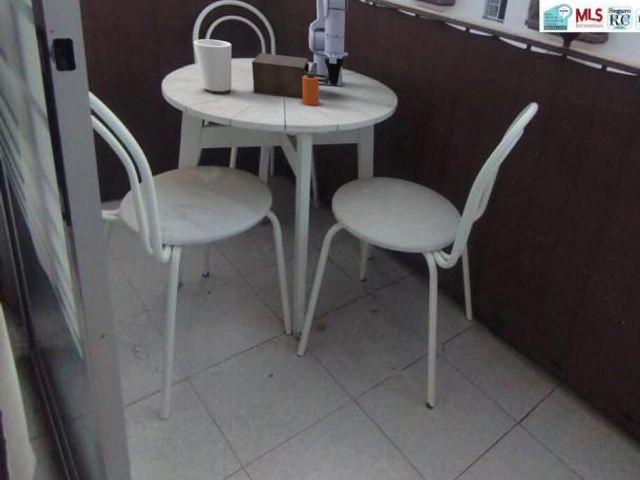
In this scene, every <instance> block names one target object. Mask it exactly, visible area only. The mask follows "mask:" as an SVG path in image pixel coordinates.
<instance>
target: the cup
mask: <svg viewBox="0 0 640 480" xmlns="http://www.w3.org/2000/svg"><path fill="white" fill-rule="evenodd" d="M193 45H194V50H195V54H196V60H197V63H198V67H199V68H198V69H199V72H200V77H201V81H202V85H203V89H204V91H206V92H209V93H210V94H216V93H217V92H219V93H220V94H222V95H225V94H227V93H230V92H231V91H232V43H230V42H228V41H224V40H219V39H210V38H209V39H208V38H207V39H205V38H204V39H196V40H194V41H193Z"/></svg>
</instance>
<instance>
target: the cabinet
mask: <svg viewBox="0 0 640 480" xmlns="http://www.w3.org/2000/svg"><path fill="white" fill-rule="evenodd" d="M307 63H309V59H308V58H306V57H299V56H298V57H297V56H288V55H282V54H281V55H280V54H272V53H263V52H260V53H259V54H258V55H257V56H256V57H255V58H254V59H253V60H252V61H251V70H252V82H253V84H252V85H253V93H255V94H260V95H261V94H263V95H272V96H280V97H291V98H300V99H303V79H302V77H303V69H304V67H305V65H306V64H307Z"/></svg>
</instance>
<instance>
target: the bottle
mask: <svg viewBox="0 0 640 480" xmlns="http://www.w3.org/2000/svg"><path fill="white" fill-rule="evenodd" d="M302 79H303V98H302V104H304V105H307V106H318V105H319V102H320V96H319V95H320V94H319V93H320V91H319V90H320V88H319V86H320V84H319V78H318V77H316V76H314V73H313V72H307V75H305V76H303V77H302Z"/></svg>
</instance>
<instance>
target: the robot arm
mask: <svg viewBox="0 0 640 480" xmlns="http://www.w3.org/2000/svg"><path fill="white" fill-rule="evenodd" d="M315 1H316V19H315V20H314V21H312V22H311V23H310V25H309V26H308V46H309V50H310V52H313V63H317V74H318V75H327V74H329V82H328V84H325V83H324V82H319V85H324V86H325V85H327V86H341V87H342V86H343V65H344V57H348V56H349V53H348V52H345V29H346V28H345V27H346V13H347V11H348V7H349V0H315ZM318 78H319V79H323V80H324V79H325V78H324V77H318Z"/></svg>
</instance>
